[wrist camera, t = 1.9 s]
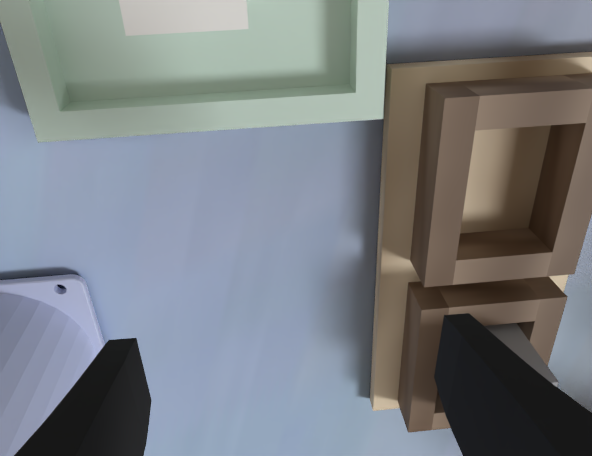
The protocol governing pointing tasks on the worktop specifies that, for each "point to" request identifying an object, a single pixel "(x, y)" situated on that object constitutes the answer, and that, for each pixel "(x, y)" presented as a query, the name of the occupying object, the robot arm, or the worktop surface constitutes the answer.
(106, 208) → the worktop surface
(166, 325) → the worktop surface
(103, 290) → the worktop surface
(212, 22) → the plug
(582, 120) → the wooden holder
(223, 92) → the tray
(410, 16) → the worktop surface
